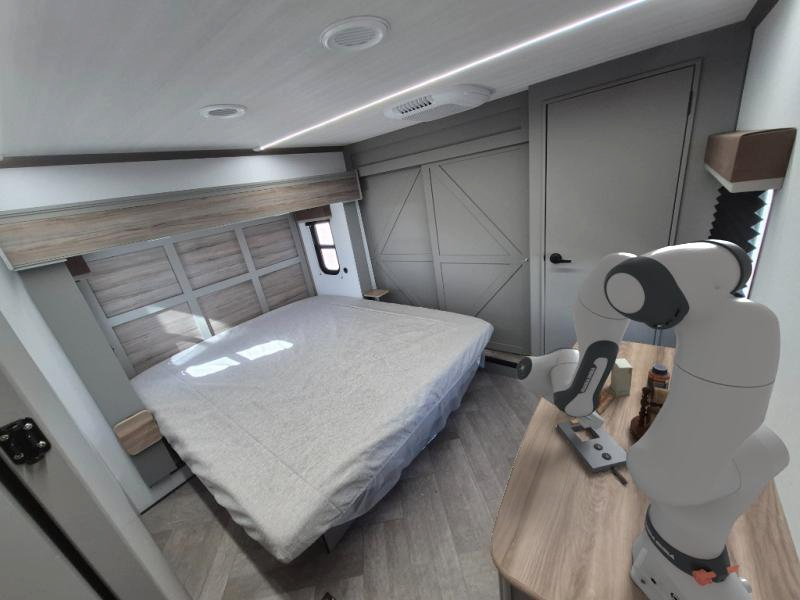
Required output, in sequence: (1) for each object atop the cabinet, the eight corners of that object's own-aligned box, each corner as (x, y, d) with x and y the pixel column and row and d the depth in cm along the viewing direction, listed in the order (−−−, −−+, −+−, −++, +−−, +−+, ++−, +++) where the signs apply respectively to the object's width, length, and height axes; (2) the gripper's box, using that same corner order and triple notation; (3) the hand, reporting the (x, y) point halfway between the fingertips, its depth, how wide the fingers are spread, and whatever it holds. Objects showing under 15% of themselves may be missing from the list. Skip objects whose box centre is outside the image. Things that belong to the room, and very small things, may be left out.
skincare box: (630, 395, 113) (633, 368, 108) (616, 395, 114) (619, 368, 109) (622, 384, 119) (625, 357, 114) (609, 384, 120) (612, 358, 115)
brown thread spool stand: (686, 427, 97) (698, 376, 90) (695, 465, 86) (709, 410, 79) (629, 415, 105) (635, 366, 98) (629, 447, 94) (637, 396, 87)
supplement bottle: (670, 397, 109) (676, 371, 105) (651, 398, 110) (656, 372, 106) (660, 386, 114) (664, 361, 110) (642, 387, 115) (646, 362, 111)
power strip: (646, 479, 85) (647, 472, 84) (605, 489, 85) (605, 482, 84) (589, 419, 106) (590, 413, 105) (556, 427, 106) (556, 421, 105)
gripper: (590, 406, 82) (622, 426, 86) (547, 364, 101) (575, 382, 105) (574, 423, 83) (605, 442, 87) (534, 378, 102) (562, 395, 106)
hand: (588, 409), depth 96 cm, fingers closed on charger plug, 3 cm apart
